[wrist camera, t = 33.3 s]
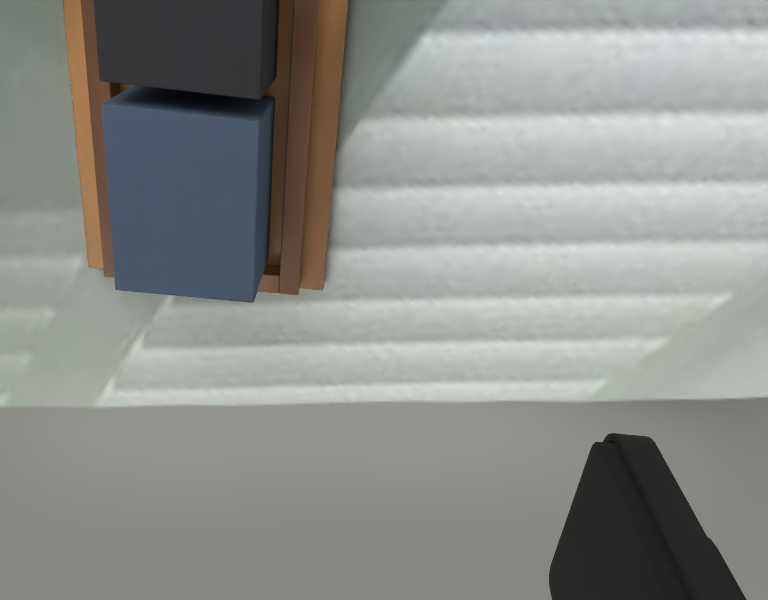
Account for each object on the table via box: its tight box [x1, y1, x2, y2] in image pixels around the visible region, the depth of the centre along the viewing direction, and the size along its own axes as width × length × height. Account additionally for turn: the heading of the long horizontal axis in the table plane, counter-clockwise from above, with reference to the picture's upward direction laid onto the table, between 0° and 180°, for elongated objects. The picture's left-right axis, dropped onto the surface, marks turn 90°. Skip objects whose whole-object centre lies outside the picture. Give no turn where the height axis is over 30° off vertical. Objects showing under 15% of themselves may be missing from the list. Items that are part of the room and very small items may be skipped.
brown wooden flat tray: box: [63, 0, 349, 295], centre depth 29 cm, size 12×20×2 cm, turn 173°
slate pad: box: [101, 85, 275, 302], centre depth 29 cm, size 6×8×5 cm
